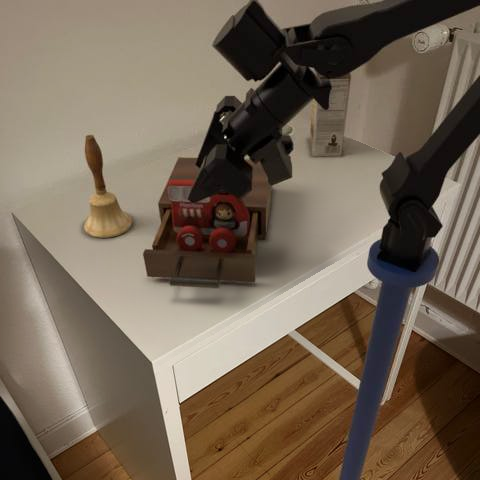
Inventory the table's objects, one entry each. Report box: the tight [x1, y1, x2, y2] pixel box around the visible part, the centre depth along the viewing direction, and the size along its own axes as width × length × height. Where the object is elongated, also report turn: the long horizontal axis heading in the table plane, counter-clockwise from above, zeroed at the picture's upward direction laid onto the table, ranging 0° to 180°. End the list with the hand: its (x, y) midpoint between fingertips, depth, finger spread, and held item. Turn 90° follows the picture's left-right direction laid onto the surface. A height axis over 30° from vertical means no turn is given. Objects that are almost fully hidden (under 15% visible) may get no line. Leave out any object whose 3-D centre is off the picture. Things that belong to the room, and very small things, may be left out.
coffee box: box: [309, 69, 352, 157], centre depth 104 cm, size 9×6×16 cm
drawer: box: [142, 208, 259, 289], centre depth 78 cm, size 20×16×4 cm
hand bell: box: [83, 134, 133, 239], centre depth 83 cm, size 8×8×16 cm
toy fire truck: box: [165, 179, 250, 253], centre depth 77 cm, size 7×12×10 cm, turn 83°
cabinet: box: [157, 156, 273, 240], centre depth 89 cm, size 17×18×6 cm
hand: (194, 182), depth 72 cm, fingers open, 9 cm apart
